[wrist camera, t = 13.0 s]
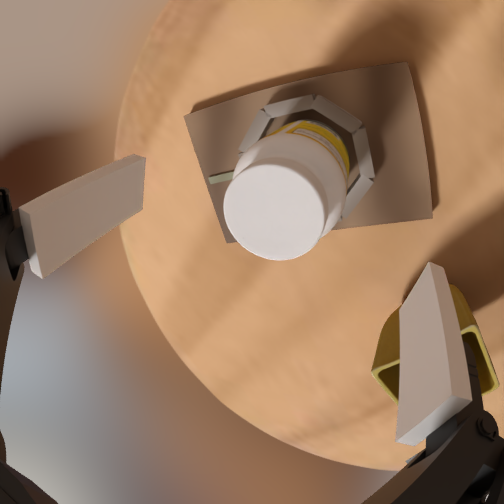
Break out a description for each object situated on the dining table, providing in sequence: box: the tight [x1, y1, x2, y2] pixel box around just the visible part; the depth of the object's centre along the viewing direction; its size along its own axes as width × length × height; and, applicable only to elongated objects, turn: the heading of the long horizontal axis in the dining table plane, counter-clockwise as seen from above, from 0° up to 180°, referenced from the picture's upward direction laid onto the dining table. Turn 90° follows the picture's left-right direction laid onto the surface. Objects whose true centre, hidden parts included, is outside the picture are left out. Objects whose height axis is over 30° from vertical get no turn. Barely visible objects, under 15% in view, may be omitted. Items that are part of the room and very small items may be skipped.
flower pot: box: [371, 283, 499, 405], centre depth 23 cm, size 9×9×9 cm
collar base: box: [184, 62, 433, 243], centre depth 23 cm, size 18×12×2 cm, turn 108°
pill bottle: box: [223, 120, 350, 260], centre depth 18 cm, size 6×6×11 cm
